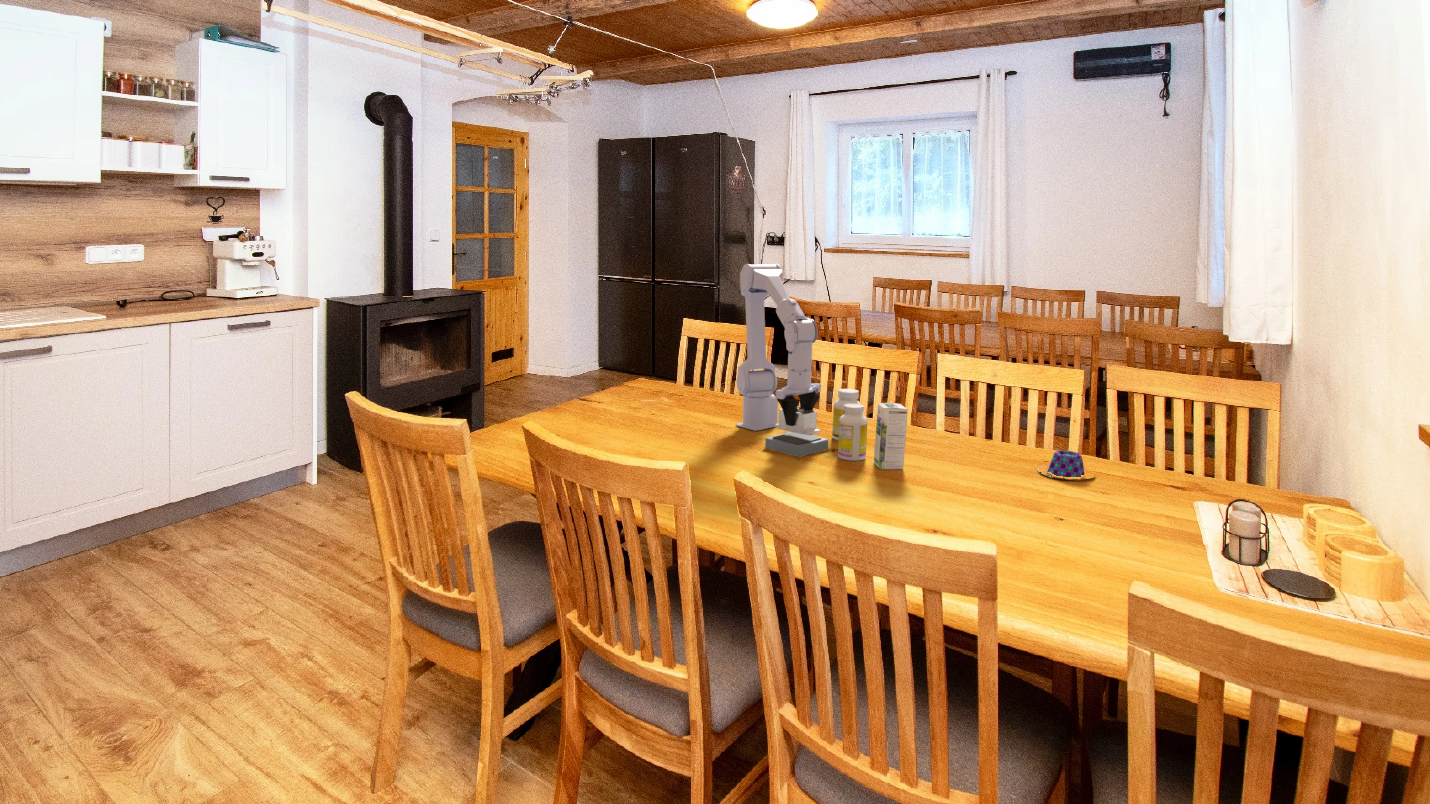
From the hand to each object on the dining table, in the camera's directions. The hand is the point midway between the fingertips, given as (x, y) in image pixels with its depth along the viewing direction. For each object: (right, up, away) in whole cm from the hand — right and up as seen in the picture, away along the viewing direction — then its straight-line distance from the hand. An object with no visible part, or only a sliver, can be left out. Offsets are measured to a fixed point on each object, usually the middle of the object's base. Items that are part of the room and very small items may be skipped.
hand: (797, 423), depth 207 cm
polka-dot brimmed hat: (+59, -12, -16) cm, 63 cm away
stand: (0, -6, +1) cm, 6 cm away
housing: (0, -2, 0) cm, 2 cm away
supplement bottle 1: (+14, -4, +11) cm, 18 cm away
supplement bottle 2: (+12, -8, -6) cm, 16 cm away
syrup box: (+20, -10, -12) cm, 25 cm away
